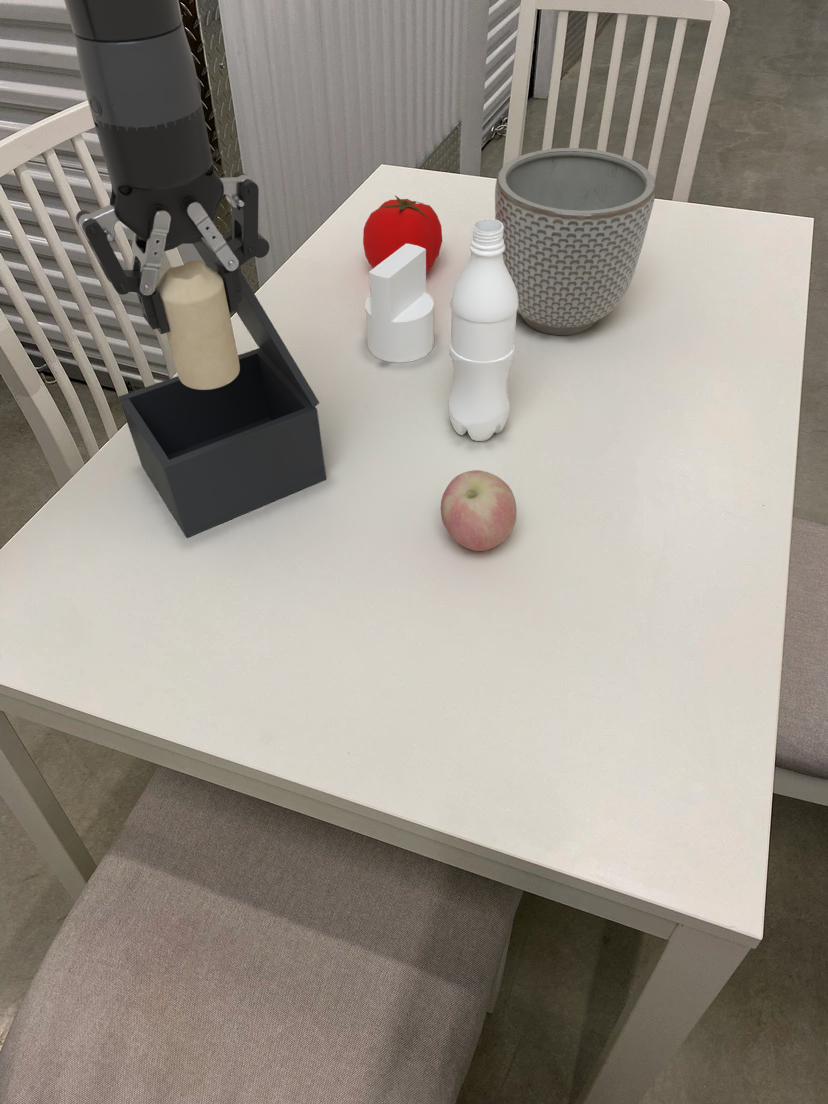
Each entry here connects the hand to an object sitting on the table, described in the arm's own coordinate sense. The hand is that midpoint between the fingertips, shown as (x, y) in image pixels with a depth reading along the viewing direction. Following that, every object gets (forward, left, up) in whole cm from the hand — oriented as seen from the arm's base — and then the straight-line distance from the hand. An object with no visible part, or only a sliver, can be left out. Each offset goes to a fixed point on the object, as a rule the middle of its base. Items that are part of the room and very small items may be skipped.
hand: (196, 317), depth 69 cm
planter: (+56, -3, -25) cm, 62 cm away
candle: (0, 0, -6) cm, 6 cm away
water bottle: (+29, -9, -25) cm, 40 cm away
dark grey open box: (+5, +8, -25) cm, 27 cm away
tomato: (+52, +22, -25) cm, 62 cm away
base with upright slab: (+37, +10, -25) cm, 46 cm away
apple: (+14, -20, -25) cm, 35 cm away
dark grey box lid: (+10, +6, -7) cm, 13 cm away
